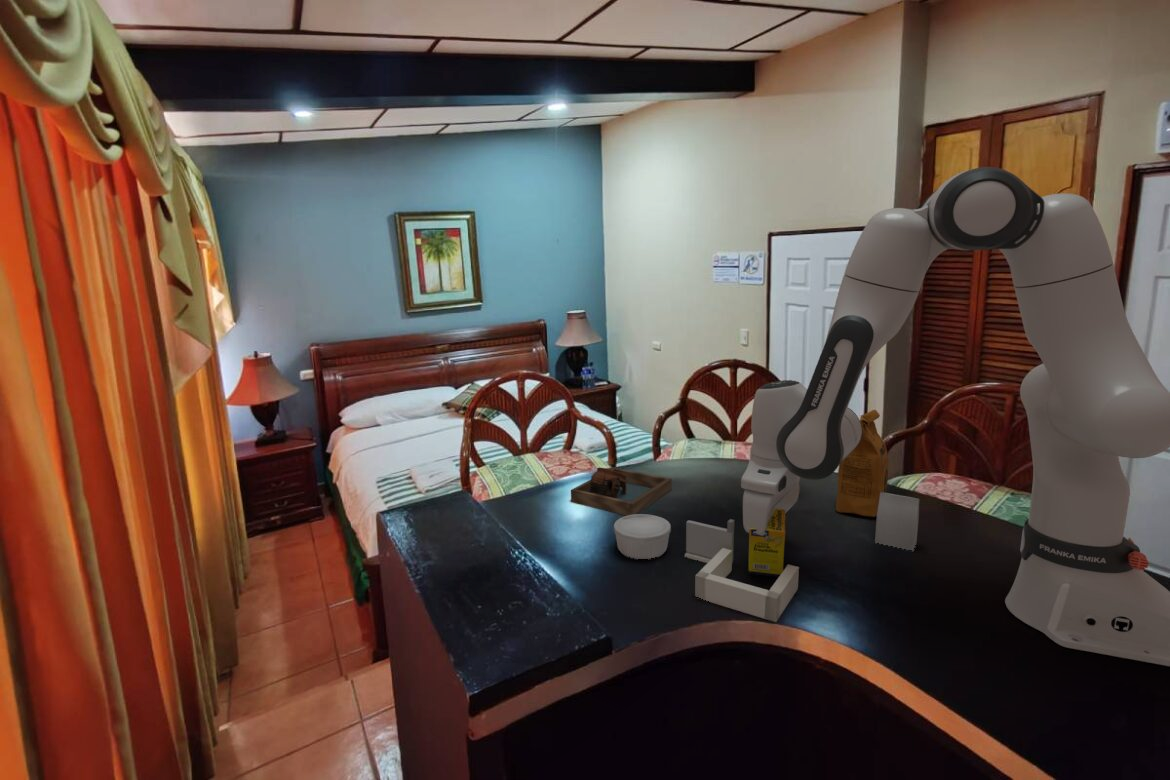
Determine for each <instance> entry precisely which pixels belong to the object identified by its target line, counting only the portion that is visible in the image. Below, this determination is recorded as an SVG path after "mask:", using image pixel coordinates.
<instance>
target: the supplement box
mask: <svg viewBox="0 0 1170 780" xmlns="http://www.w3.org/2000/svg"><path fill="white" fill-rule="evenodd" d="M756 531H757V529H755V528H752V527H750V529H749V533H748V534H749V535H748V537H749V539H748V569H747V570H748V574H749V575H757V576H758V575H759V576H768V577H777V578H779V576H780V575H781V574H782V572H783V571H784V560H785V559H784V557H785V543H786V542H785V541H786V513H785V510H784V509H776V510H775V511H774V513H773V515H772V517H771V519H770V521H769V523H768V525H767V528H766V530H765V533H764V535H763V536H761V535H758V534H756V533H755V532H756Z"/></svg>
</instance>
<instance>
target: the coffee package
mask: <svg viewBox="0 0 1170 780" xmlns="http://www.w3.org/2000/svg"><path fill="white" fill-rule="evenodd" d="M879 418H880V413H879V412H878V411H877V409H872V410H870V411H868V412H866V413H863V414H862V415H860V418H859V420H860V422H861V425H862V437H861V440H860V442H859V444H858V445H857V446H856V447H855V449H854V450H853V451H852V452H851V453H850V454H849V455H848V456H847V457H846V458H845V459H844V460H843V461H842V462H841V463H840V465H839V466H838V472H837V478H838V480H837V493H836V494H837V495H836V503H835V504H836V505H835V510H836V511H837V513H841V514H842V513H846V514H855V515H860V516H862V517H873V518H874V517H877V511H878V505H879V498H880V492H884V493H887V488H888V481H889V462H890V461H889V454H888V450H887V447H886V444H885V442H884V439H882V437H881V436H880V434H879V433H878V430H877V428H876V427H877V426H876V423H875V420H877V419H879Z"/></svg>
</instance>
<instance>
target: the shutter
mask: <svg viewBox="0 0 1170 780" xmlns="http://www.w3.org/2000/svg"><path fill="white" fill-rule="evenodd" d="M685 527H686V529H685V530H686V531H685V533H686V534H685V538H686V539H685V546H686V547H685V551H686V553H687V552H691V553H695V554H698V555H702V556H706V557H710V558H713V557H714V556H715V555H716V554H717V553H718V552H719V551H720V550H721V549H722V548H725V549H729V550H732V563H733V562H734V542H735V541H734V539H735V536H734V535H735V534H734V533H735V519H731V518H730V519H729V520H727V528H724V527H720V526H715V525H710V524H707V523H702V522H698V521H694V520H687V521H686V523H685Z"/></svg>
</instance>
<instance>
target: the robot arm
mask: <svg viewBox="0 0 1170 780" xmlns="http://www.w3.org/2000/svg"><path fill="white" fill-rule="evenodd" d="M947 250H958V251H987V250H988V251H989V250H999V251H1000V253H1002V255H1003V256H1004V257H1005V259H1006V262H1007V263H1008V265H1009V269H1010V275H1011V278H1012V285H1013V288H1014V292H1015V297H1016V299H1017V304H1018V309H1019V312H1020V316H1021V321H1022V325H1023V330H1024V332H1025V336H1026V339H1027V340H1028V342H1029V343H1030V345H1031V346H1032V347H1033V348H1034V349H1035V351H1036V353H1037V354H1038V357H1039V358H1040V360H1041V362H1042V364H1039V365H1037V366H1035V367H1034V368H1032V369H1031V370H1030V371H1029V372H1028V373H1026V375H1025V376H1024V377H1023V380H1022V382H1021V384H1020V388H1019V396H1020V400H1021V403H1022V404H1023V407H1024V409H1025V412H1026V413H1025V414H1026V415H1027V416H1026V417H1027V424H1028V431H1029V432H1028V433H1029V434H1028V435H1029V439H1030V440H1029V441H1030V449H1031V458H1032V467H1033V469H1032V471H1033V473H1032V474H1033V477H1032V486H1031V496H1030V505H1029V511H1028V512H1029V513H1028V518H1027V519H1026V520H1025V521H1024V525H1023V528H1022V533H1021V539H1020V540H1021V541H1020V555H1021V560H1020V562H1019V563H1020V564H1019V567H1018V570H1017V573H1016V576H1015V579H1014V582H1013V584H1012V586H1011V588H1010V590H1009V592H1008V594H1007V595H1006V597H1005V600H1004V603H1005V605H1006V608H1007V610H1008V611H1009V612H1010V613H1011V614H1012V615H1014V617H1015V618H1017V619H1019V620H1020V621H1022V622H1023V623H1024V624H1027V625H1028V626H1030V627H1032V628H1034V629H1035V630H1038V631H1040V632H1042V633H1043V634H1045V636H1046V637H1048V638H1049V639H1050V640H1052V641H1053V642H1054V643H1056V644H1057V645H1059V646H1061V647H1064V648H1068V649H1072V650H1073V649H1074V650H1079V651H1085V652H1090V653H1096V654H1100V655H1107V656H1110V657H1117V658H1121V659H1129V660H1133V661H1139V662H1143V663H1144V662H1145V663H1151V664H1155V665H1160V666H1165V667H1170V590H1168V588H1166V587H1165V586H1163V585H1162V584H1160V583H1159V582H1158V581H1157V580H1156V579H1154V578H1153V577H1152V576H1150V575H1149V574H1148V573H1147V572H1145V571H1144V570H1146V569H1148V568H1149V567H1150V564H1149V563H1150V562H1149V561H1148V558H1147V555H1145V554H1144V553H1142V552H1141V549H1140V547H1139V546H1138V545H1137V544H1135V542H1134V541H1133V539H1132V538H1131V537H1128V538H1126V537H1125V536H1124V533H1125V528H1126V521H1127V515H1128V509H1129V502H1130V496H1131V490H1130V489H1131V488H1130V484H1129V481H1128V479H1127V478H1126V476H1125V474H1124V471H1123V470H1122V466H1121V462H1120V457H1121V458H1128V459H1145V458H1150V457H1151V458H1152V457H1154V456H1157V455H1160V454H1162V453H1163V452H1165V451H1166V450H1169V448H1170V391H1169V390H1168V389H1167V388H1166V386H1164V385H1163V383H1162V382H1161V381H1160V379H1159V378H1158V376H1157V375H1156V372H1155V371H1154V369H1153V367H1152V365H1151V363H1150V362H1149V360H1148V358H1147V356H1146V355H1145V352H1144V351H1143V348H1142V347H1141V345H1140V343H1139V341H1138V340H1137V338H1136V335H1135V334H1134V332H1133V330H1132V328H1131V326H1130V322H1129V320H1128V318H1127V315H1126V312H1125V308H1124V304H1123V300H1122V295H1121V292H1120V286H1119V283H1118V279H1117V278H1118V277H1117V274H1116V270H1115V266H1114V260H1113V256H1112V252H1111V249H1110V246H1109V242H1108V240H1107V237H1106V234H1105V231H1104V229H1103V226H1102V224H1101V222H1100V221H1099V217H1098V216H1097V214H1096V212H1095V210H1094V208H1093V206H1092V204H1091V203H1090V202H1089V200H1088V199H1086V198H1085V197H1084V196H1081V195H1079V194H1075V193H1068V192H1067V193H1065V192H1062V193H1051V194H1048V195H1044V196H1041V195H1039V194H1038V193H1037V192H1035V190H1033V189H1032V188H1031V187H1030V186H1029V185H1028V184H1026V183H1025V182H1024V181H1023V180H1022V179H1021V178H1019V177H1018V176H1016V175H1015V174H1014V173H1012V172H1010V171H1008V170H1005V169H1002V168H1000V167H994V166H993V167H992V166H980V167H976V168H972V169H967V170H963V171H961V172H958V173H956V174H954V175H953V176H951V177H950V178H947V180H945V181H944V182H943V183H942V184H940V186H939V187H938V188H937V189H935V190H934V191H933V192H932V193H931V194H930V195H929V196H928V197H927V198H925V200H924V201H923V202H922V203H921V204H919V206H918V207H916V208H914V209H912V208H904V207H895V208H887V209H884V210H880V211H878V212H877V213H875V214H873V216H871V217H870V219H869V220H868V221H867V223H866V225H865V227H864V228H863V230H862V231H861V234H860V235H859V238H858V240H857V242H856V244H855V246H854V248H853V250H852V252H851V255H850V257H849V260H848V262H847V265H846V268H845V270H844V273H843V276H842V280H841V283H840V287H839V290H838V292H837V297H836V301H835V305H834V308H833V312H832V317H831V321H830V324H829V327H828V331H827V335H826V339H825V342H824V345H823V348H822V350H821V353H820V355H819V358H818V361H817V364H816V365H815V368H814V370H813V374H812V376H811V379H810V381H809V384H808V386H807V388H806V387H805V386H804V385H803V384H802V382H800V381H797V380H791V379H789V380H785V379H784V380H776V381H772V382H771V381H770V382H768V383H766V384H763V385H761V386H760V387H759V388H758V389H757V390H756V391H755V394H754V398H753V403H752V411H751V423H750V425H751V427H750V429H751V430H750V431H751V433H752V434H751V435H752V444H751V446H750V451H749V452H750V453H749V459H748V464H747V468H746V470H745V471H744V473H743V475H742V476H741V479H740V487H741V488H742V489H744V491H743V495H742V523H743V525H742V526H743V529H744V530H745V532H746V533H748V534H749V529H750V527H752V528H755V529H757V531H756V532H755V533H756V534H758V535H761V536H763V535H764V533H765V530H766V528H767V525H768V523H769V521H770V519H771V517H772V515H773V513H774V511H775V510H776V509H784V510H785V514H787V512H788V511H790V509H791V508H792V507H793V506H794V505H795V504H796V503H797V501H798V500H799V494H800V491H799V481H800V482H801V479H806V480H812V481H819V480H822V479H825V478H828V477H829V476H831V475H832V474H833V473H835V471H836V470H837V469H838V468H839V465H840V463H841V462H842V461H843V460H844V459H845V458H846V457H847V456H848V455H849V454H850V453H851V452H852V451H853V450H854V449H855V447H856V446H857V445H858V444H859V442H860V440H861V437H862V425H861V422H860V418H859V416H858V415H857V414H856V413H855V412H854V411H853V410H852V409H851V408H849V404H850V402H851V400H852V397H853V394H854V392H855V389H856V386H857V384H858V382H859V380H860V377H861V375H862V373H863V371H864V370H865V368H866V366H867V365H868V363H870V361H871V360H872V358H874V356H875V355H876V354H877V353H878V352H879V351H880V350H881V349H883V347H884V346H885V345H886V344H887V343H888V342H889V341H890V340H892V339H893V338H894V337H895V336H896V335H897V334H898V333H899V331H900V330H901V328H902V326H903V325H904V324H905V322H906V320H907V319H908V317H909V315H910V314H911V311H912V310H913V307H914V305H915V304H916V302H917V299H918V296H919V293H920V291H921V287H922V285H923V282H924V279H925V275H926V274H927V273H928V272H927V271H928V269H929V268H930V266H931V264H932V263H933V261H935V259H936V258H937V257H938V256H939V255H940V254H942V253H943V252H945V251H947Z"/></svg>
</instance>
